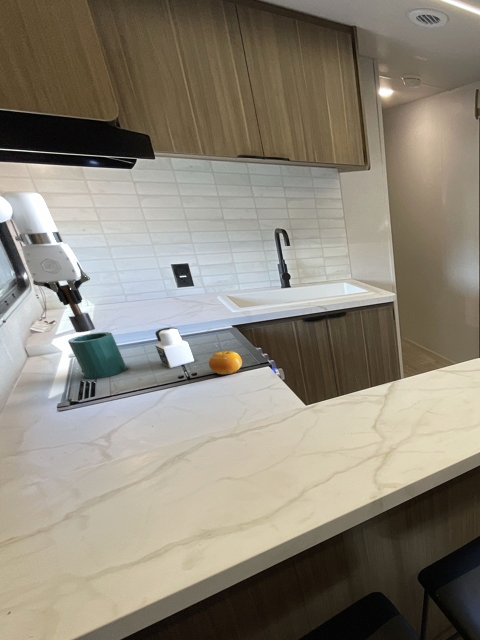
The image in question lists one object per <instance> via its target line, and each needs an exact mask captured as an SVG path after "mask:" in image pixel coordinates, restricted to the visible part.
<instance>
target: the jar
mask: <svg viewBox="0 0 480 640" xmlns="http://www.w3.org/2000/svg"><path fill="white" fill-rule="evenodd" d="M67 343H68V344H69V346H70V348H71V351H72V353H73V355H74V357H75V359H76V361H77V363H78V365H79V367H80V369H81V371H82V373H83V375H84V377H85V379H102V378H107V377H110V376H111V377H112V376H115V375H118V374H121V373H123V372H124V371H126V370H127V366H126V363H125V361H124V359H123V356H122V354H121V351H120V349H119V347H118V345H117V342H116V340H115V337H114V336H113V334H112V332H108V331H106V332H105V331H102V332H93V333H86V334H82V335H78V336H74V337H72V338H70V339H69V340H67Z"/></svg>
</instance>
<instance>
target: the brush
mask: <svg viewBox="0 0 480 640" xmlns="http://www.w3.org/2000/svg"><path fill="white" fill-rule="evenodd" d="M60 287H61V289H62V291H63V293H64V295H65V297H66V299H67V301H68V303H69V304H68V306H69V307H70V310H71V312H72V314H69V315H68V318H69V321H70V324H71V325H72V327H73V329H74V331H75V332H76V333H86V332H91V331H94V330H95V329H96V328H95V325H94V323H93V321H92V318H91V316H90V314H89V312H82V309H81V308H80V306H79V304H75V303H74V301H73V299H72V297H71V295H70V293H69V291H71V290H70V287H69V285H68V283H67V284H60Z"/></svg>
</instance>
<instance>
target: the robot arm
mask: <svg viewBox="0 0 480 640" xmlns="http://www.w3.org/2000/svg"><path fill="white" fill-rule="evenodd" d="M10 220H12V221H13V222H14V225H15V227H16V229H17V231H18V233H19V234H18V236H15V237H14V239H15V241H16V242H17V243H18V242H21V243H23V245H22V246H21V250H22V251H21V252H22V253H23V258H24V261H25V264H26V266H27V269H28V271H29V274H30V276H31V278H32V284H33V285H34V286H37V287H43V288H45V289H49V290H50V291H52V292H54V293H55V294H56V296H57V299H58V300H59V302H60V303H62V304H63V306H69V303H68V301H67V299H66V297H65V295H64V293H63V291H62V289H61V287H60V285H61V284H60V282H64V281H66V283H67V284H68V285H69V287H70V290H71V291H69V293H70V295H71V297H72V299H73V301H74V303H75V304H78V305H80V304H81V303H82V302H83V297H82V295H81V292H80V290H79V289H80V287H81V285H82V284H85V283H86V282H88V281H90V280H91V278H90V277H89V276H88V274H86V273H85V272H84V269H83V267H82V265H81V263H80V261H79V260H78V258H77V256H76V255H75V252H74V251H73V249H72V248H71V247H70V246H69V244H68V243H64V241H63V239H62V236H61V234H60V232H59V230H58V228H57V226H56V224H55V221H54V219H53V216H52V215H51V212H50V210H49V208H48V206H47V203H46V201H45V199H44V197H43V196H42V195H41V194H40V193H38V192H36V191H7V192H4V193H1V192H0V223H1V224H2V223H4V222H7V221H10Z"/></svg>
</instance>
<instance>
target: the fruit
mask: <svg viewBox="0 0 480 640" xmlns="http://www.w3.org/2000/svg"><path fill="white" fill-rule="evenodd" d="M242 364H243V360H242V357H241V356H240V354H239V353H237V352H235V351H230V350H224V351H218V352H215V353H214V354H212V355H211V356H210V358H209V360H208V366H209V368H210V370H211V371H212V372H214V373H215V374H218V375H231V374H234V373H236V372H238V370H240V369H241V367H242Z"/></svg>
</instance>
